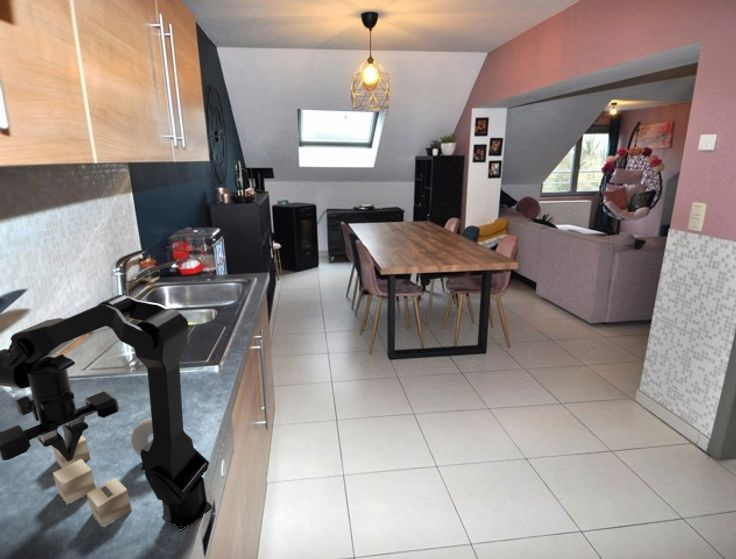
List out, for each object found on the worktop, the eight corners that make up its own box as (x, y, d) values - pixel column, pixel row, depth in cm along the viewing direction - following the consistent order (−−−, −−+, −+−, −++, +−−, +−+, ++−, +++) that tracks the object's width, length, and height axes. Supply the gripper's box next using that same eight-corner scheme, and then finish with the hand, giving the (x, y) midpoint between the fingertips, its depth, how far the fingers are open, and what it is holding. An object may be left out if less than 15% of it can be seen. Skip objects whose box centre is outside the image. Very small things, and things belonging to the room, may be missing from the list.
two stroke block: (81, 449, 98) (77, 430, 96) (90, 458, 95) (85, 439, 93) (56, 461, 94) (51, 441, 93) (64, 471, 91) (59, 451, 90)
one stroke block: (120, 498, 84) (115, 477, 82) (131, 511, 81) (127, 489, 80) (91, 515, 80) (86, 492, 79) (103, 529, 77) (97, 506, 76)
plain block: (86, 478, 89) (81, 458, 88) (96, 490, 86) (91, 469, 85) (58, 493, 85) (52, 472, 84) (67, 505, 82) (62, 484, 81)
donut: (185, 448, 98) (179, 410, 95) (183, 458, 95) (176, 419, 92) (137, 455, 95) (129, 417, 93) (133, 466, 92) (125, 426, 89)
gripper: (90, 357, 91) (103, 421, 95) (-26, 396, 77) (-3, 468, 81) (113, 374, 84) (126, 441, 89) (-9, 419, 70) (14, 497, 75)
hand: (69, 459), depth 83 cm, fingers closed
